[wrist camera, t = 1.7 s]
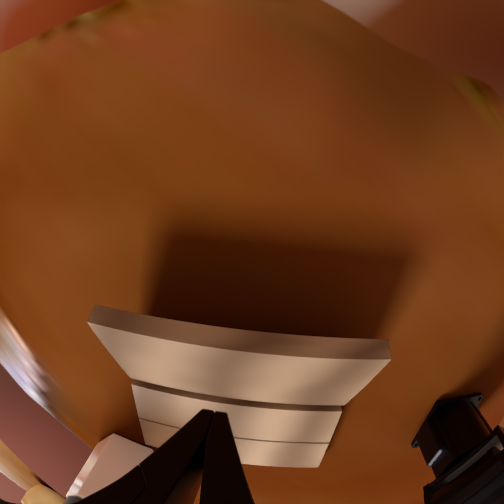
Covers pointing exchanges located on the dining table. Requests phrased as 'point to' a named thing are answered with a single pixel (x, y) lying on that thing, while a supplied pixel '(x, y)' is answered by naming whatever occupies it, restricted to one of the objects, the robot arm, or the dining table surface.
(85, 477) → the jar
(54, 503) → the sculpture
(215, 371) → the plank
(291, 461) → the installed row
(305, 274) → the dining table surface
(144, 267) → the dining table surface
